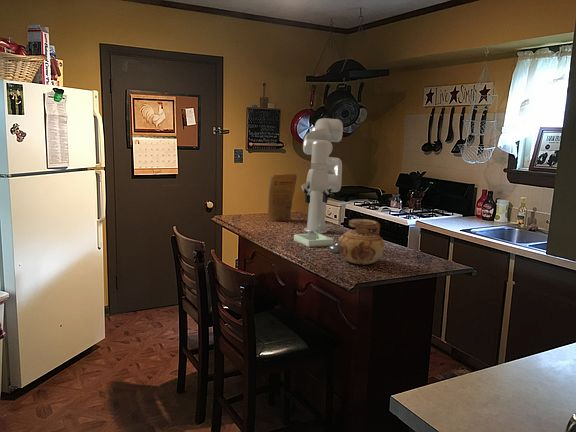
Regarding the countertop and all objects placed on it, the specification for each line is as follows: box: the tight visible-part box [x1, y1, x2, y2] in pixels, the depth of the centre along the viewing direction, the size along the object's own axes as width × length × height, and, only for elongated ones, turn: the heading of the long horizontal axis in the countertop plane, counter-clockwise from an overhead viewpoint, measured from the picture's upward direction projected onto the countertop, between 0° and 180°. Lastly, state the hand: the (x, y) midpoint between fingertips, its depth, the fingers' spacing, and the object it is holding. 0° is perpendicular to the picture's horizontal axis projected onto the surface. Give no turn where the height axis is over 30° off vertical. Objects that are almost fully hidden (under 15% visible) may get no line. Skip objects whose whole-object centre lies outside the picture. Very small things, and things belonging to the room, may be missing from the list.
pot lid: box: [328, 242, 341, 255], centre depth 220 cm, size 8×8×4 cm
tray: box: [293, 233, 335, 248], centre depth 234 cm, size 14×14×3 cm
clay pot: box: [337, 218, 385, 266], centre depth 203 cm, size 19×19×20 cm
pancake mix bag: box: [266, 173, 298, 222], centre depth 286 cm, size 7×19×28 cm, turn 120°
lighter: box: [306, 225, 322, 240], centre depth 234 cm, size 7×2×8 cm, turn 115°
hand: (316, 202), depth 232 cm, fingers open, 9 cm apart
